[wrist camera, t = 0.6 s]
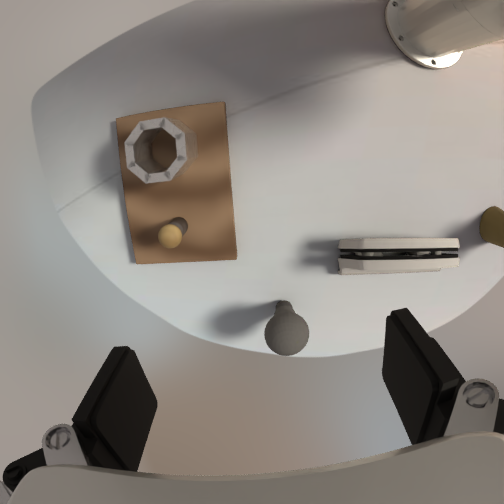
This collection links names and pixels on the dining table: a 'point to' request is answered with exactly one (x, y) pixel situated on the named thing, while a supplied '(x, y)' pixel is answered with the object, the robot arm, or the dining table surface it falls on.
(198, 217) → the keeper base
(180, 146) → the white hollow octagonal cylinder
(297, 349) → the light bulb
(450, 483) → the robot arm
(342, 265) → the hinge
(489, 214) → the cork
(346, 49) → the dining table surface
